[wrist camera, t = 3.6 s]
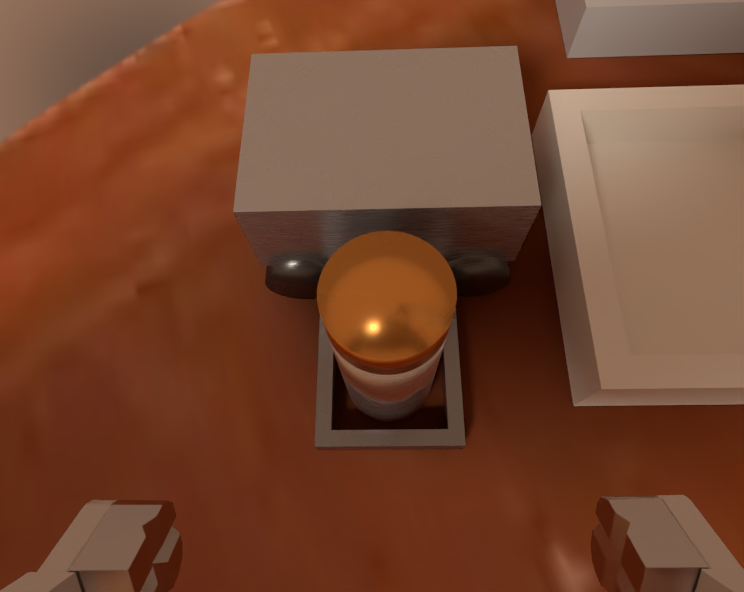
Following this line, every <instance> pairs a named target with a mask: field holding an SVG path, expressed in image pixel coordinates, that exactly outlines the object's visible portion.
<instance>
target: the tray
mask: <svg viewBox="0 0 744 592" xmlns="http://www.w3.org/2000/svg"><path fill="white" fill-rule="evenodd" d="M532 142H533V148H534V154H535V161H536V167H537V174H538V180H539V187H540V193H541V200H542V206H543V213H544V219H545V226H546V232H547V239H548V245H549V252H550V258H551V265H552V271H553V278H554V284H555V291H556V297H557V303H558V310H559V316H560V323H561V329H562V336H563V342H564V349H565V355H566V362H567V368H568V375H569V381H570V388H571V394H572V401H573V406H629V405H728V404H744V85H710V86H675V87H640V88H605V89H570V90H548V93H547V95H546V98H545V101H544V104H543V106H542V109H541V112H540V114H539V117H538V120H537V122H536V125H535V128H534V131H533V133H532Z"/></svg>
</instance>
